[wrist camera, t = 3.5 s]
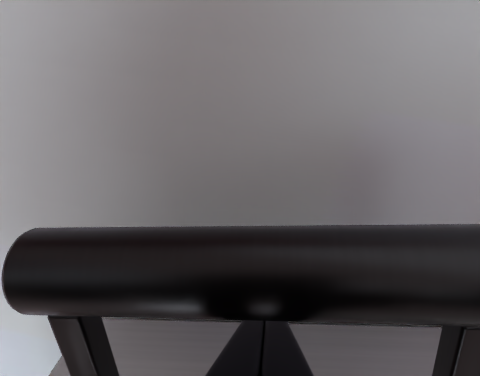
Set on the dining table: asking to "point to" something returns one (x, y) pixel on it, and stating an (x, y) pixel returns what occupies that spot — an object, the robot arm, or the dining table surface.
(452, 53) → the dining table surface
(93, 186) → the dining table surface
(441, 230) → the grey pull-out drawer
